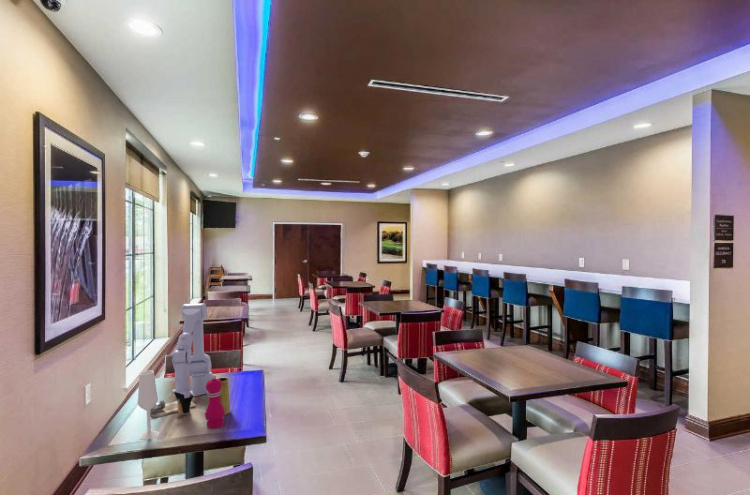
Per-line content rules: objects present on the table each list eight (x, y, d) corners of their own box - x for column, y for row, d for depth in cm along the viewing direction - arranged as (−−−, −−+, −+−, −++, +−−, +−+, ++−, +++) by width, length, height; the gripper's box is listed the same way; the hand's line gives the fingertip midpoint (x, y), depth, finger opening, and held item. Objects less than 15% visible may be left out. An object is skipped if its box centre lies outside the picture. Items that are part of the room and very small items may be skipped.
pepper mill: (213, 431, 158) (211, 379, 158) (201, 426, 162) (199, 376, 162) (229, 423, 165) (227, 373, 164) (217, 419, 168) (215, 371, 168)
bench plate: (189, 399, 190) (189, 397, 190) (195, 407, 182) (195, 405, 181) (147, 409, 180) (147, 407, 180) (152, 418, 171) (152, 416, 171)
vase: (216, 417, 171) (214, 383, 170) (214, 411, 176) (213, 378, 176) (231, 413, 174) (230, 380, 173) (229, 408, 179) (228, 376, 179)
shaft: (161, 410, 179) (161, 399, 179) (165, 412, 177) (165, 401, 177) (150, 414, 175) (149, 403, 175) (154, 416, 173) (153, 405, 173)
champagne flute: (163, 431, 159) (160, 370, 158) (150, 440, 152) (147, 375, 152) (148, 430, 160) (145, 369, 160) (134, 438, 154) (132, 375, 153)
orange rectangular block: (187, 410, 178) (187, 396, 178) (190, 413, 175) (189, 399, 175) (177, 413, 176) (177, 399, 176) (179, 416, 173) (179, 402, 172)
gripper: (168, 375, 178) (169, 406, 179) (176, 384, 167) (177, 418, 167) (186, 372, 183) (187, 402, 183) (194, 380, 171) (195, 413, 171)
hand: (183, 409), depth 175 cm, fingers open, 7 cm apart
